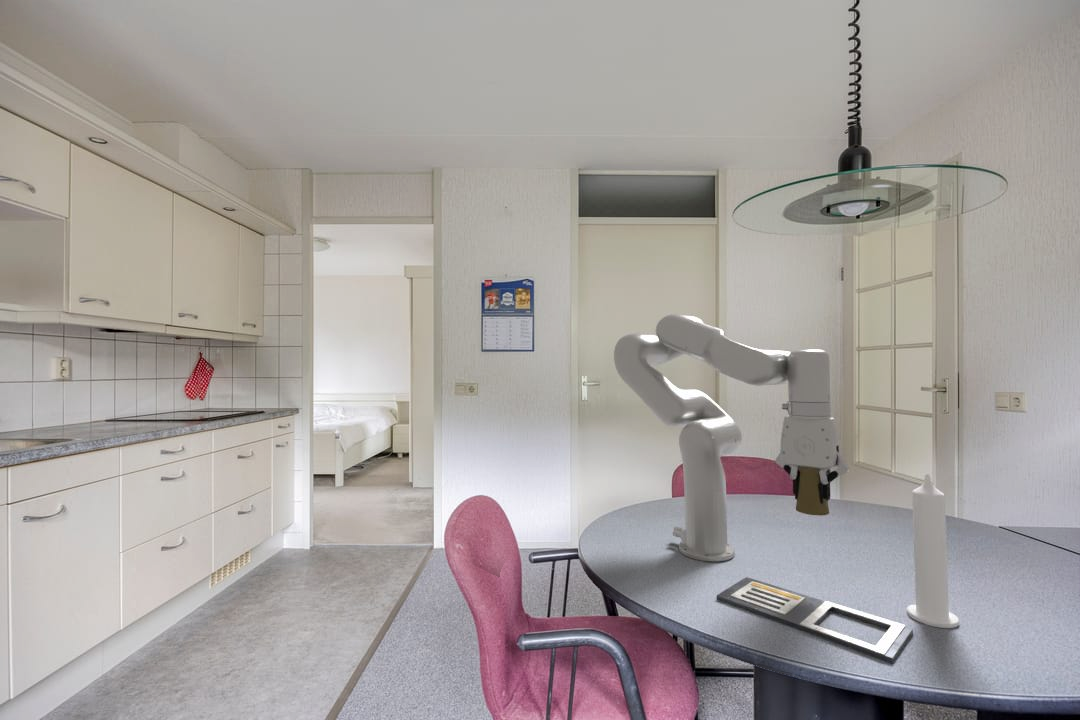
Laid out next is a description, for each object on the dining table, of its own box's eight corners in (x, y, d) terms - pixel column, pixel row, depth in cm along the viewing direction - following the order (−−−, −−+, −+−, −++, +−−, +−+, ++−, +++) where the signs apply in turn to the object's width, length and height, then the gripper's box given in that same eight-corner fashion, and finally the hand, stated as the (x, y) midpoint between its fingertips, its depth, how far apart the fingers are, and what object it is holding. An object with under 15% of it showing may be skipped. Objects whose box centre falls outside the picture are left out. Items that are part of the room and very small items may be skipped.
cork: (799, 505, 105) (798, 453, 105) (832, 510, 101) (830, 456, 101) (792, 511, 100) (791, 457, 100) (826, 517, 96) (825, 460, 96)
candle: (959, 616, 86) (954, 472, 86) (958, 633, 81) (953, 479, 81) (909, 604, 91) (904, 467, 91) (904, 619, 85) (900, 474, 86)
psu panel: (716, 599, 94) (716, 593, 94) (746, 580, 102) (746, 575, 102) (892, 663, 73) (892, 656, 73) (912, 633, 81) (912, 626, 81)
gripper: (760, 409, 104) (762, 496, 104) (849, 414, 92) (851, 513, 92) (775, 407, 109) (777, 490, 109) (862, 411, 97) (864, 505, 97)
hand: (811, 499), depth 100 cm, fingers closed on cork, 3 cm apart
